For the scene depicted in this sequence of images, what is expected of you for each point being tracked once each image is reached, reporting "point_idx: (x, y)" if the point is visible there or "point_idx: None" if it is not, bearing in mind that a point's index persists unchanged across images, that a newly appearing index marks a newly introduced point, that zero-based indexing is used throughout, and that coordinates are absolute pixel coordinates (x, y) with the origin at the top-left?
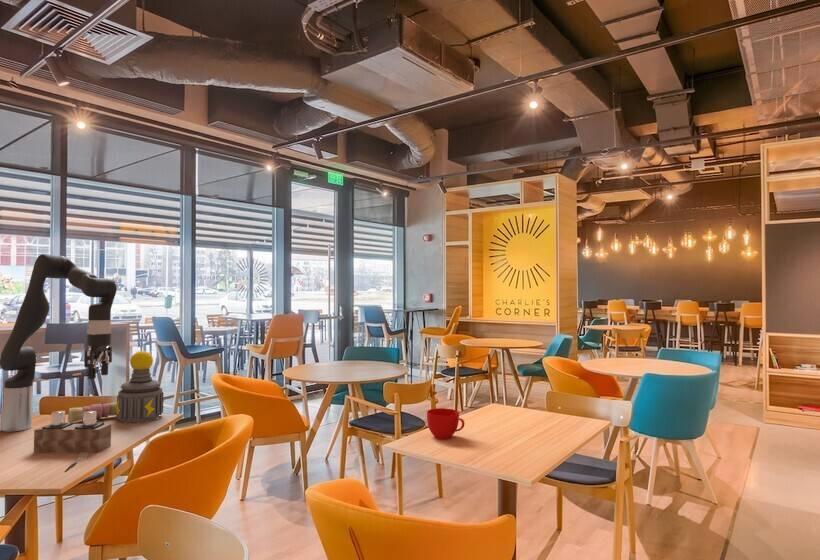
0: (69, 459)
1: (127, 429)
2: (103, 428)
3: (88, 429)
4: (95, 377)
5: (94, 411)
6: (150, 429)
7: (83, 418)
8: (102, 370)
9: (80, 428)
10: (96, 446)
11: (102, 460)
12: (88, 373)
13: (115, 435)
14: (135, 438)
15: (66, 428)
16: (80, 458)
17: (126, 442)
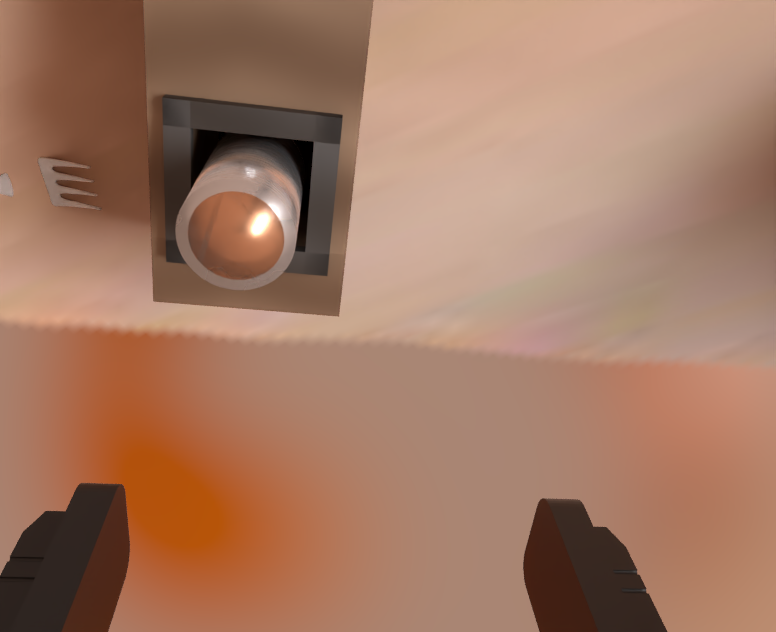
0: (33, 109)
1: (757, 198)
2: (220, 302)
3: (154, 220)
4: (117, 577)
5: (276, 261)
6: (700, 341)
7: (203, 174)
8: (564, 578)
9: (165, 149)
10: None
11: (34, 314)
12: (48, 556)
13: (605, 176)
14: (493, 327)
15: (185, 3)
16: (50, 177)
17: (407, 308)
